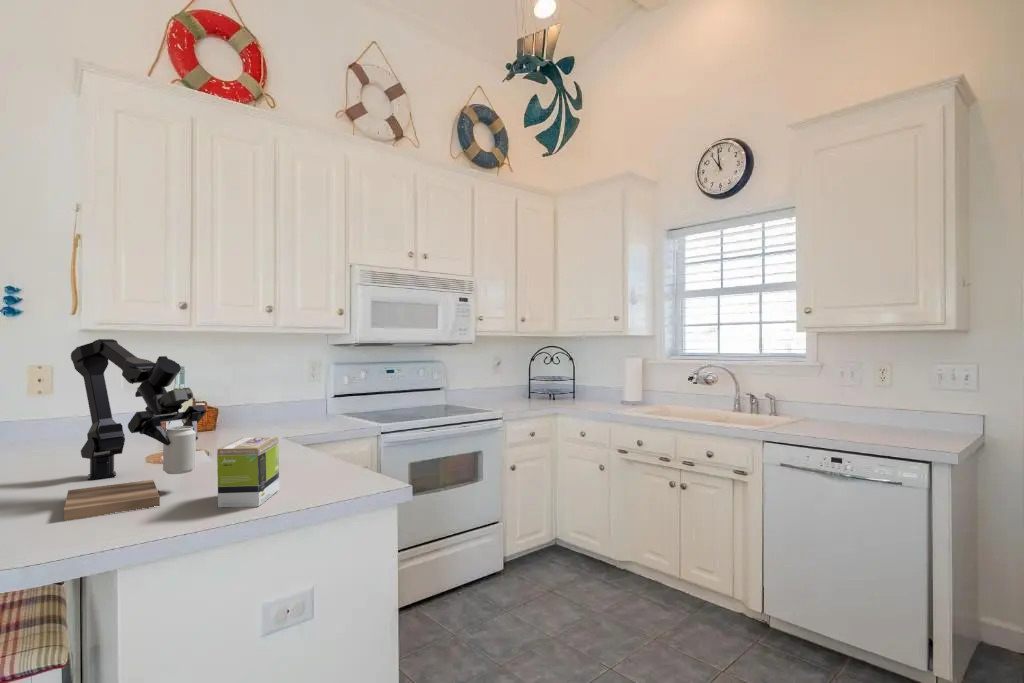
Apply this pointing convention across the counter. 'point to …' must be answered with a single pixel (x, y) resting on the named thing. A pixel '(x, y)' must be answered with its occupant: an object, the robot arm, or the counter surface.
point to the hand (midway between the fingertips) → (183, 441)
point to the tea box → (248, 471)
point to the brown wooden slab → (110, 499)
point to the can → (179, 450)
